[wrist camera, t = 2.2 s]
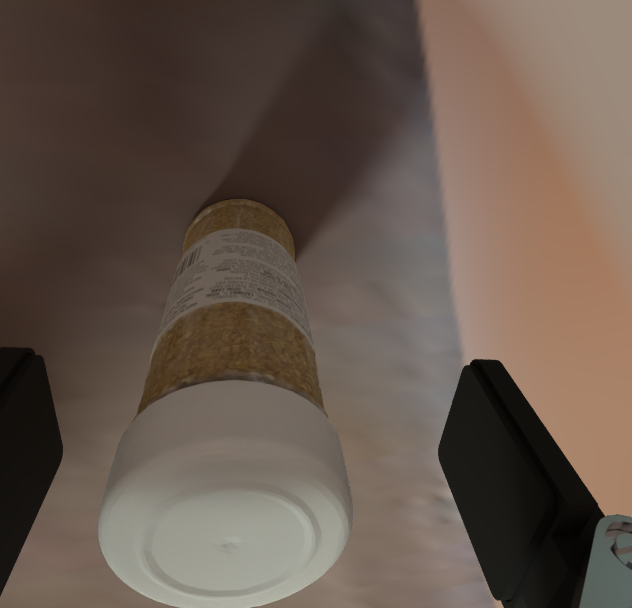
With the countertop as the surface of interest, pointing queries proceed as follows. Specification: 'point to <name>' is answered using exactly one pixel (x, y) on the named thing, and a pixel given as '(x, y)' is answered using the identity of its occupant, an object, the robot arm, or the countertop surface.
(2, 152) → the countertop surface
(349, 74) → the countertop surface
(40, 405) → the robot arm
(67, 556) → the countertop surface
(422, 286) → the countertop surface
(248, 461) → the sprinkles bottle
